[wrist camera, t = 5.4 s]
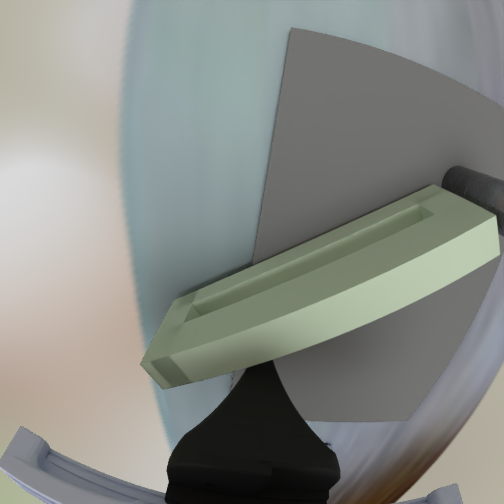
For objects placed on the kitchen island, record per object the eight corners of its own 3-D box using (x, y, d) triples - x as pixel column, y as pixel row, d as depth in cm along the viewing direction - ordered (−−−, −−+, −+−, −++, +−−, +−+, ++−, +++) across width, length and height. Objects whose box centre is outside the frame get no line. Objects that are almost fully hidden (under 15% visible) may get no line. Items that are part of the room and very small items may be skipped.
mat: (406, 415, 19) (407, 420, 18) (228, 405, 19) (227, 411, 18) (527, 127, 10) (532, 128, 9) (290, 31, 10) (291, 27, 10)
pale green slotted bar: (189, 322, 15) (163, 389, 11) (173, 300, 15) (139, 364, 10) (440, 213, 12) (500, 254, 7) (433, 184, 11) (496, 215, 7)
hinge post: (461, 207, 12) (553, 267, 6) (432, 198, 12) (527, 258, 6) (470, 171, 12) (571, 212, 5) (441, 159, 12) (546, 195, 5)
